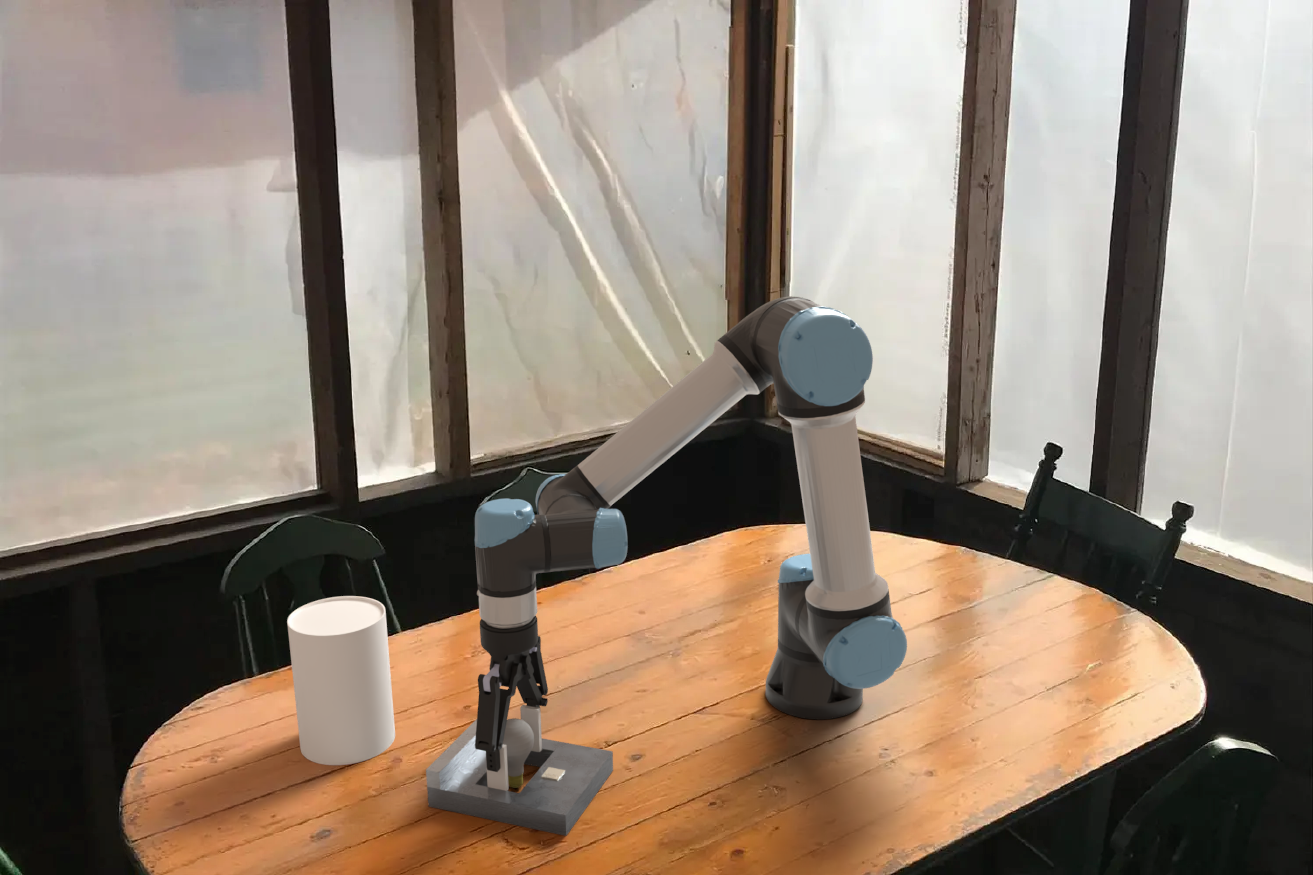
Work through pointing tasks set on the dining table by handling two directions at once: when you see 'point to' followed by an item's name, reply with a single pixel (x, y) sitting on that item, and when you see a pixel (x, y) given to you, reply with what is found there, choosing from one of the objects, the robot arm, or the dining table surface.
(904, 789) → the dining table surface
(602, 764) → the rail plate
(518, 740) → the light bulb
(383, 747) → the canister
